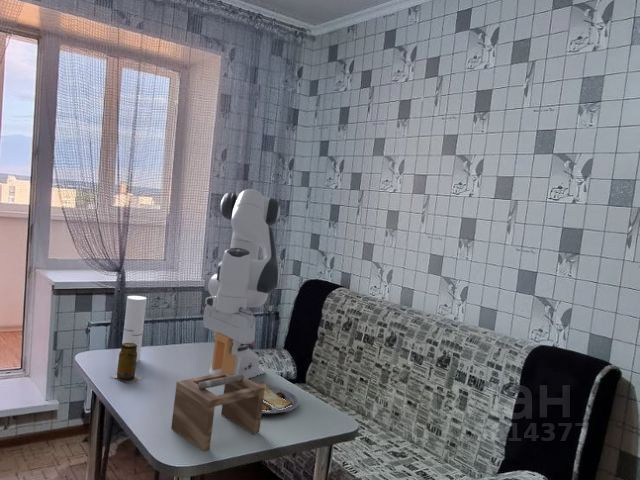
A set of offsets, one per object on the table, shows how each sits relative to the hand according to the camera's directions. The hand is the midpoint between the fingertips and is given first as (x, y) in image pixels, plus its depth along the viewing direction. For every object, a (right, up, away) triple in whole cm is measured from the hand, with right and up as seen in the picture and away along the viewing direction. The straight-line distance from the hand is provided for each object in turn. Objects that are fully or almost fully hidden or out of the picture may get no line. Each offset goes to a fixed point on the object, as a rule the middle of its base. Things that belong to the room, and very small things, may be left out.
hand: (225, 350), depth 146 cm
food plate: (+7, -24, +27) cm, 37 cm away
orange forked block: (-1, -6, 0) cm, 6 cm away
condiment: (-42, -17, +33) cm, 56 cm away
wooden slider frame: (-3, -24, +1) cm, 24 cm away
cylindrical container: (-47, -15, +52) cm, 72 cm away
